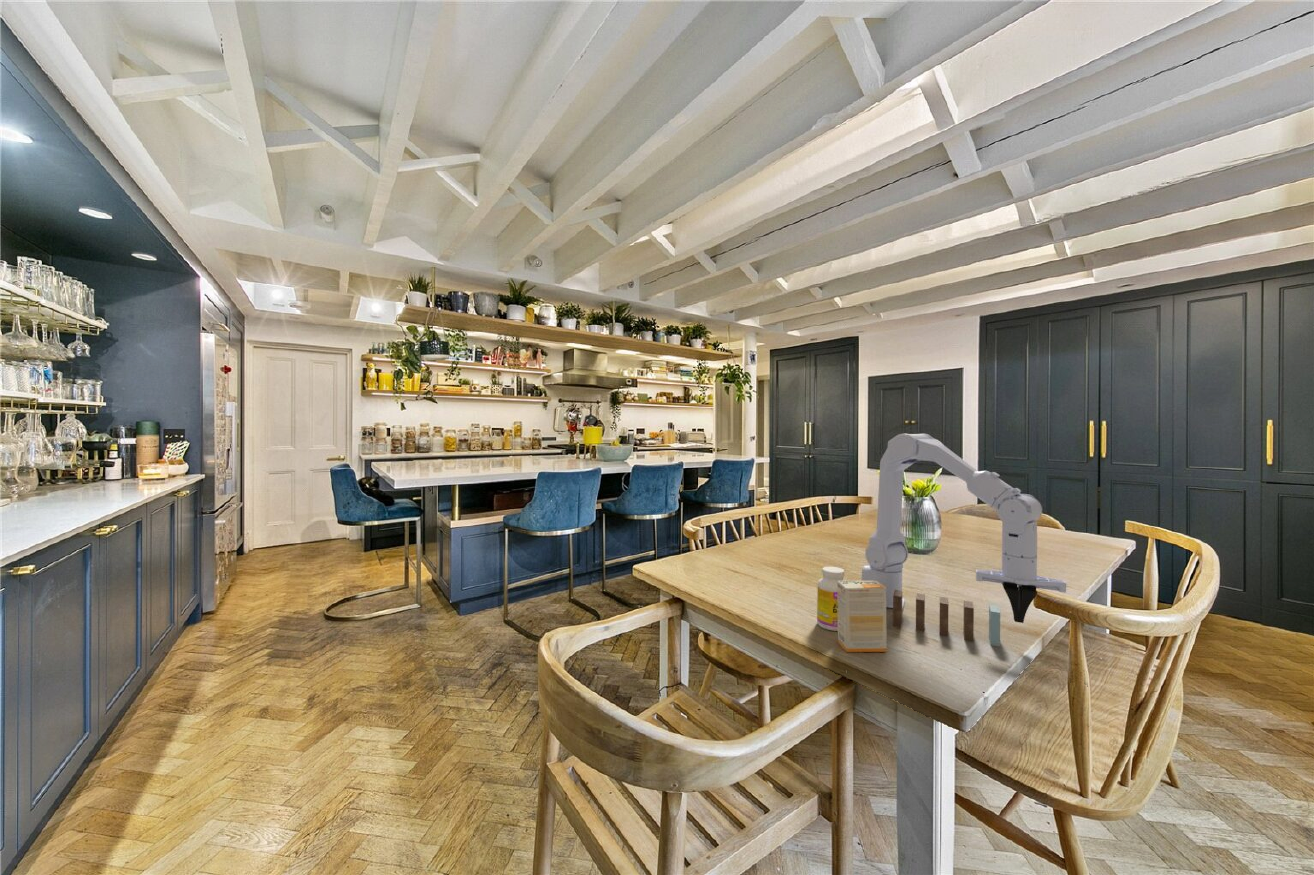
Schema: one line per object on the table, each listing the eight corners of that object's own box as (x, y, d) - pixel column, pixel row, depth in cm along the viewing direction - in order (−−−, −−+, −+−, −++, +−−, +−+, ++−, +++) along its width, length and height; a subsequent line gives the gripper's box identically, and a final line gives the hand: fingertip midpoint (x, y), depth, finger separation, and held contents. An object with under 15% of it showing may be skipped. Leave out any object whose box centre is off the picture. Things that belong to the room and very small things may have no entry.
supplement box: (875, 642, 99) (876, 579, 98) (887, 652, 94) (887, 587, 94) (836, 642, 99) (836, 579, 98) (845, 652, 94) (845, 587, 93)
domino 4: (964, 639, 99) (964, 606, 99) (963, 632, 103) (963, 600, 103) (973, 641, 99) (973, 608, 99) (972, 633, 102) (972, 601, 102)
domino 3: (939, 635, 102) (939, 602, 102) (939, 627, 106) (939, 596, 105) (948, 636, 101) (948, 604, 101) (947, 629, 105) (948, 598, 105)
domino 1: (892, 626, 106) (893, 595, 106) (894, 619, 110) (894, 589, 110) (900, 627, 106) (901, 596, 105) (902, 620, 109) (902, 590, 109)
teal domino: (990, 645, 97) (990, 611, 97) (988, 636, 101) (989, 604, 101) (1000, 646, 96) (1000, 612, 96) (997, 638, 100) (998, 605, 100)
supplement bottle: (832, 634, 102) (832, 575, 102) (810, 622, 108) (811, 567, 108) (855, 629, 105) (855, 571, 105) (833, 618, 111) (833, 563, 111)
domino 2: (915, 630, 104) (915, 599, 104) (916, 623, 108) (916, 593, 108) (924, 632, 103) (924, 600, 103) (924, 625, 107) (924, 594, 107)
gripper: (977, 554, 97) (977, 620, 97) (1070, 564, 89) (1069, 635, 89) (975, 546, 103) (974, 608, 103) (1061, 555, 95) (1061, 622, 95)
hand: (1018, 620), depth 96 cm, fingers closed
